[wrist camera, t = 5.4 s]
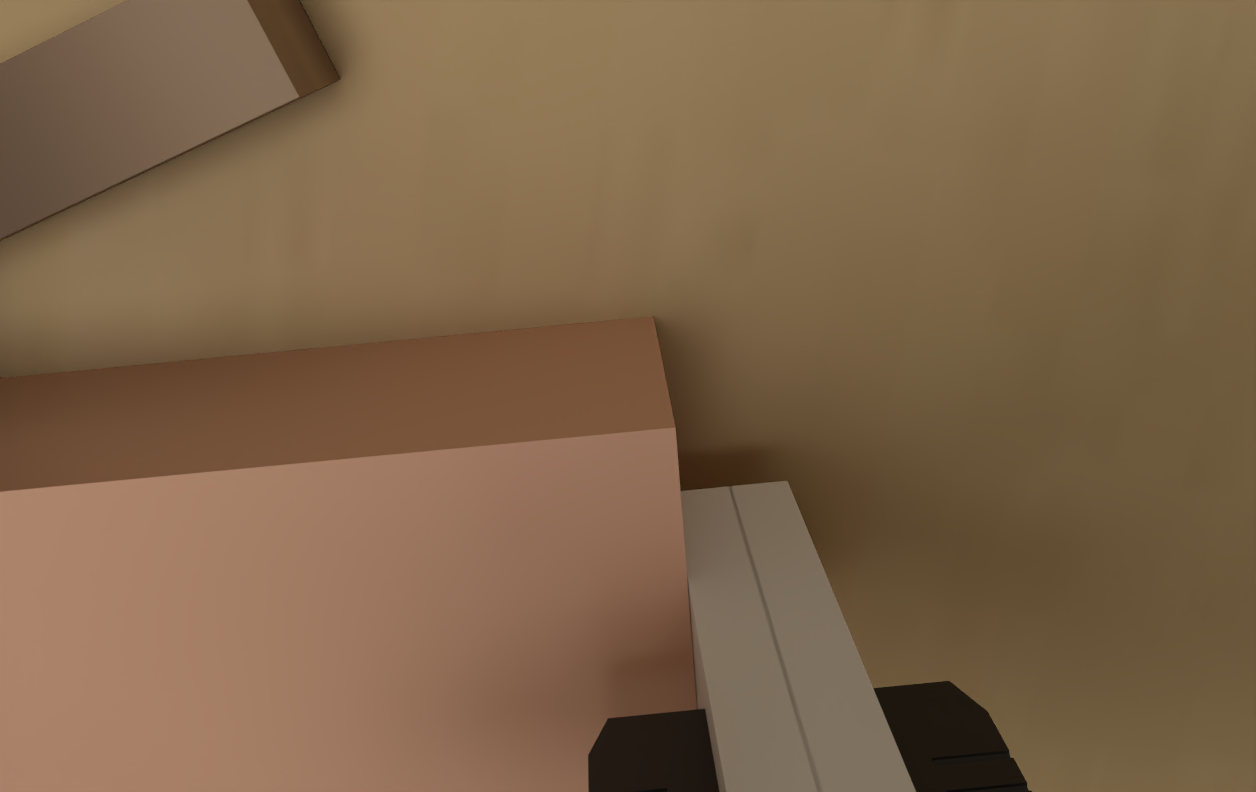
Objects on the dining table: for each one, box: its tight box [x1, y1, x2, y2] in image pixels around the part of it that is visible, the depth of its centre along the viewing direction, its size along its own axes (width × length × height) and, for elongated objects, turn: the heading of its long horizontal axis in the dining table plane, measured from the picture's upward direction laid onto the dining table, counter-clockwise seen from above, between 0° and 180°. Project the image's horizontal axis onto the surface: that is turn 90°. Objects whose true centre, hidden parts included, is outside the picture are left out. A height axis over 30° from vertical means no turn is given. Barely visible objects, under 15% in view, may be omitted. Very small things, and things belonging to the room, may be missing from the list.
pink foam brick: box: [0, 316, 697, 792], centre depth 14 cm, size 14×7×4 cm, turn 95°
